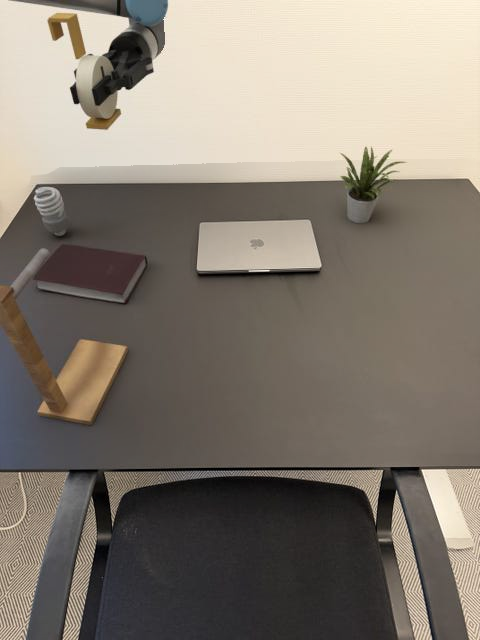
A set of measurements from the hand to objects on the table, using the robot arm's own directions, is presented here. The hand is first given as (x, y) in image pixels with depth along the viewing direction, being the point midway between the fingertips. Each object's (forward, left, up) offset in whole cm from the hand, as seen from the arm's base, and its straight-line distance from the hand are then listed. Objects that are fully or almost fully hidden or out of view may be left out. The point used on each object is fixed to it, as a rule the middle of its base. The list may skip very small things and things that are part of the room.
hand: (84, 96), depth 79 cm
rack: (+19, -30, -33) cm, 48 cm away
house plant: (+41, +38, -33) cm, 65 cm away
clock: (-4, +4, -7) cm, 9 cm away
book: (+1, -10, -33) cm, 34 cm away
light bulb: (-16, -3, -33) cm, 37 cm away
